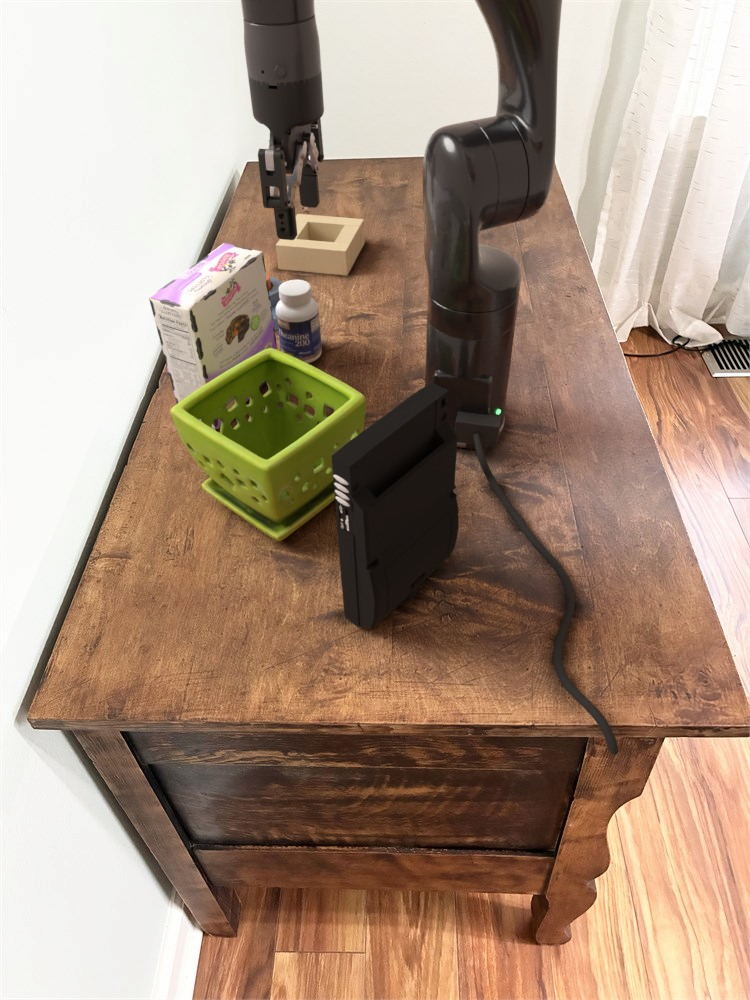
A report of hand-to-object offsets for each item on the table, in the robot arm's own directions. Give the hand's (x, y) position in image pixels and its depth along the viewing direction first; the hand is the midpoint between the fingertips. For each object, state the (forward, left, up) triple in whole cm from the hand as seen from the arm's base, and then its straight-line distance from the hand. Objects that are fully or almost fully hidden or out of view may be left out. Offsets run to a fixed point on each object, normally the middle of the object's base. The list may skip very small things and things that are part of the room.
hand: (299, 221), depth 88 cm
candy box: (-12, +7, -18) cm, 22 cm away
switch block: (+8, +10, -17) cm, 22 cm away
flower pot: (-28, -5, -18) cm, 33 cm away
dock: (+25, +6, -17) cm, 31 cm away
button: (+8, +10, -14) cm, 19 cm away
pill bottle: (-2, +1, -18) cm, 18 cm away
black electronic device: (-38, -20, -18) cm, 46 cm away
